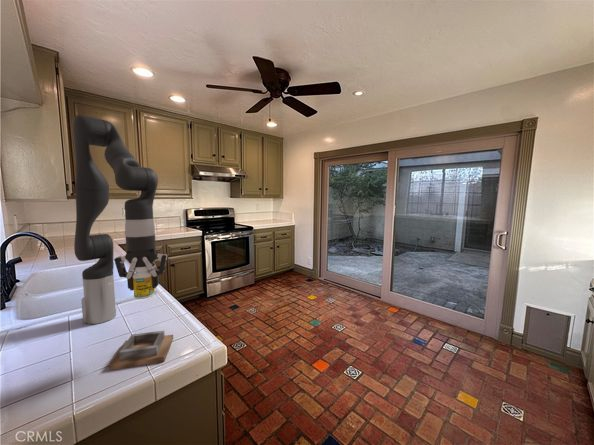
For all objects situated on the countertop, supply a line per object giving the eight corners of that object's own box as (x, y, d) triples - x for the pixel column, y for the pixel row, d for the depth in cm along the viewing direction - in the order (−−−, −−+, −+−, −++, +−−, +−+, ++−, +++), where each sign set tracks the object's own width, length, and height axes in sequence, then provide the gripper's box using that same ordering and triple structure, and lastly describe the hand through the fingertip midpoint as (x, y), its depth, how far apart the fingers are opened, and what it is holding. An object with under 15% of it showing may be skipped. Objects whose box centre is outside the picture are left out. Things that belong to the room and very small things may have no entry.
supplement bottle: (153, 291, 79) (152, 262, 78) (155, 297, 74) (153, 266, 73) (133, 295, 76) (131, 265, 75) (134, 301, 71) (132, 269, 70)
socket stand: (108, 370, 67) (107, 356, 67) (125, 344, 79) (125, 333, 78) (164, 361, 71) (163, 348, 71) (173, 338, 83) (172, 327, 82)
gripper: (169, 231, 79) (172, 282, 80) (117, 233, 75) (121, 286, 76) (164, 234, 72) (167, 290, 73) (106, 236, 67) (111, 295, 69)
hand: (143, 288), depth 75 cm, fingers closed on supplement bottle, 5 cm apart
